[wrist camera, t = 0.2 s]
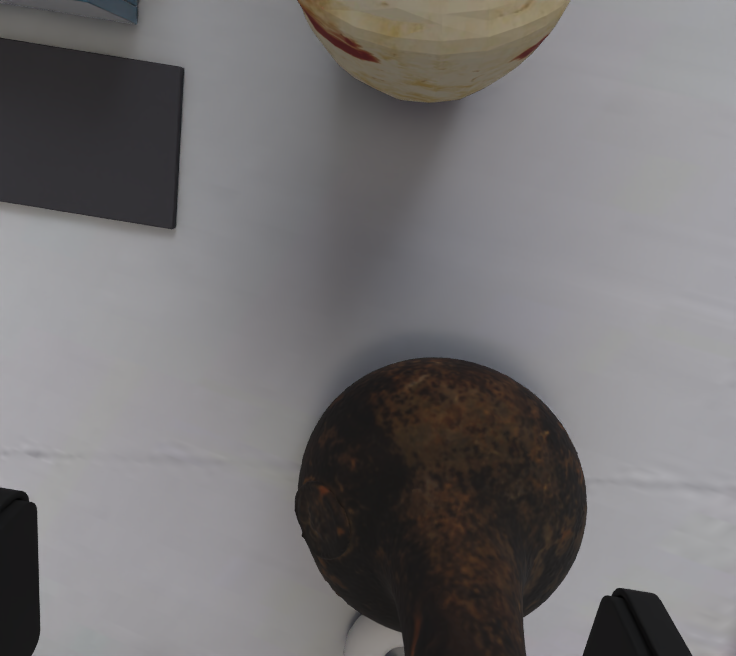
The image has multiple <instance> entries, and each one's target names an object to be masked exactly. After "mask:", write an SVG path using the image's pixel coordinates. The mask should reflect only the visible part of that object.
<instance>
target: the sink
mask: <svg viewBox="0 0 736 656" xmlns="http://www.w3.org/2000/svg"><path fill="white" fill-rule="evenodd" d="M0 3H5V4H11V5H17V6H23V7H30V8H36V9H42V10H48V11H55V12H61V13H67V14H73V15H79V16H86V17H92V18H98V19H104V20H110V21H117V22H123V23H129V24H135V25H136V24H137V11H138V8H137V7H136V6H137V5H138V0H0Z"/></svg>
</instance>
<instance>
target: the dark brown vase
mask: <svg viewBox="0 0 736 656" xmlns="http://www.w3.org/2000/svg"><path fill="white" fill-rule="evenodd" d="M295 513H296V516H297V520H298V522H299V524H300V527H301V529H302V537H303V538H304V539H305V541H306V543H307V545H308V547H309V549H310V552H311V554H312V556H313V558H314V560H315V563H316V565H317V567H318V569H319V571H320V572H321V574H322V576H323V577H324V579H325V581H327V582H328V583H329V585H330V586H331V588H332V589H333V590H334V591H335V593H336V594H337V595H338V596H340V597H341V598H342V599H343V600H345V601H346V603H347V604H348V605H350V606H351V607H353V608H354V609H355V610H357V611H358V612H360V613H361V614H362V615H364V616H365V617H367V618H369V619H371V620H373V621H374V622H376V623H378V624H380V625H382V626H385V627H387V628H389V629H392V630H395V631H397V632H401V633H402V639H403V645H404V651H405V656H526V651H525V640H524V630H523V617H525V616H527V615H528V614H529V613H531V612H532V611H534V610H535V609H536V608H537V607H539V606H540V605H541V604H542V603H543V602H545V601H546V600H547V599H548V598H549V597H550V596H551V594H552V593H553V592H554V591H555V590H556V589H557V587H558V586H559V585H560V584H561V582H562V581H563V580H564V578H565V577H566V575H567V574H568V572H569V570H570V568H571V566H572V564H573V563H574V561H575V559H576V556H577V554H578V551H579V549H580V545H581V542H582V538H583V534H584V529H585V525H586V515H587V502H586V486H585V480H584V475H583V471H582V467H581V464H580V460H579V458H578V455H577V452H576V450H575V448H574V445H573V444H572V442H571V439H570V438H569V436H568V434H567V432H566V430H565V429H564V427H563V426H562V424H561V423H560V422H559V420H558V419H557V418H556V416H555V415H554V414H553V413H552V411H551V410H550V409H549V408H548V407H547V406H546V405H545V404H544V403H543V402H542V401H541V400H540V399H539V398H538V397H537V396H536V395H534V394H533V393H532V392H530V391H529V390H528V389H526V388H525V387H524V386H522V385H521V384H519V383H518V382H516V381H515V380H513V379H511V378H510V377H508V376H506V375H504V374H502V373H500V372H497V371H495V370H493V369H490V368H488V367H485V366H482V365H479V364H476V363H473V362H468V361H464V360H458V359H451V358H435V357H434V358H416V359H410V360H405V361H401V362H397V363H394V364H390V365H387V366H385V367H382V368H380V369H378V370H375V371H373V372H371V373H369V374H367V375H365V376H364V377H362V378H361V379H359V380H358V381H356V382H355V383H353V384H352V385H351V386H349V387H348V388H346V390H345V391H343V392H342V393H341V394H340V395H339V396H338V397H337V398H336V399H335V400H334V401H333V402H332V404H331V405H330V406H329V407H328V409H327V410H326V411H325V412H324V414H323V415H322V416H321V418H320V420H319V421H318V423H317V425H316V426H315V428H314V430H313V432H312V434H311V436H310V439H309V441H308V444H307V447H306V450H305V453H304V455H303V459H302V465H301V470H300V475H299V482H298V491H297V493H296V496H295Z"/></svg>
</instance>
